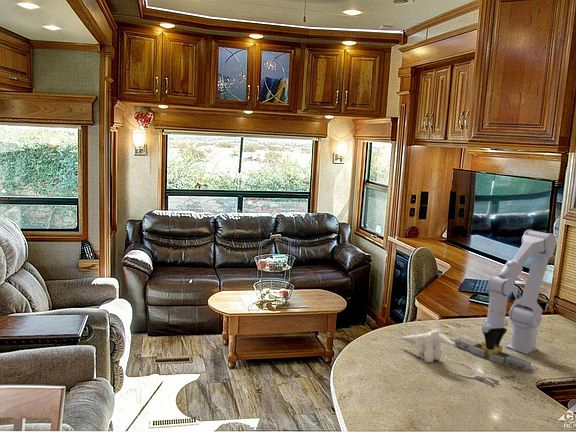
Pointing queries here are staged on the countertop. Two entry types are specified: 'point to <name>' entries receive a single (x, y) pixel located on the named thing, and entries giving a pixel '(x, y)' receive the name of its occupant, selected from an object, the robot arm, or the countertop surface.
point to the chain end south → (470, 346)
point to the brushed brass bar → (496, 350)
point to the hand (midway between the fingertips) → (492, 348)
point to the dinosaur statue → (428, 344)
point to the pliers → (478, 376)
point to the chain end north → (511, 361)
